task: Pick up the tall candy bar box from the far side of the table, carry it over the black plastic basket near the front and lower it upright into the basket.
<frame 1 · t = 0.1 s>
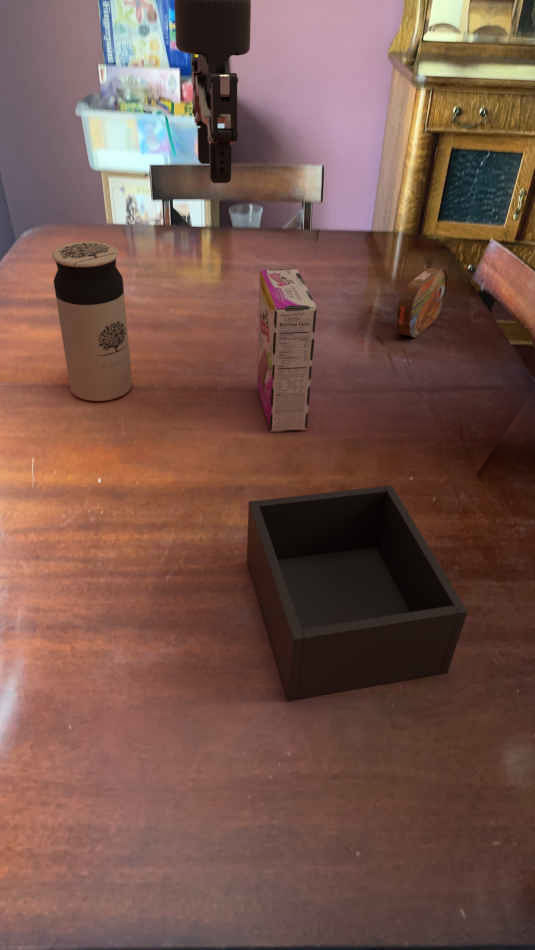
hand: (213, 172, 76), 27 cm above the table, tool pointing down, fingers open, 8 cm apart
tin: (417, 327, 109), on the table
candy bar box: (279, 410, 87), on the table
basket: (339, 613, 60), on the table
travel mug: (101, 388, 89), on the table
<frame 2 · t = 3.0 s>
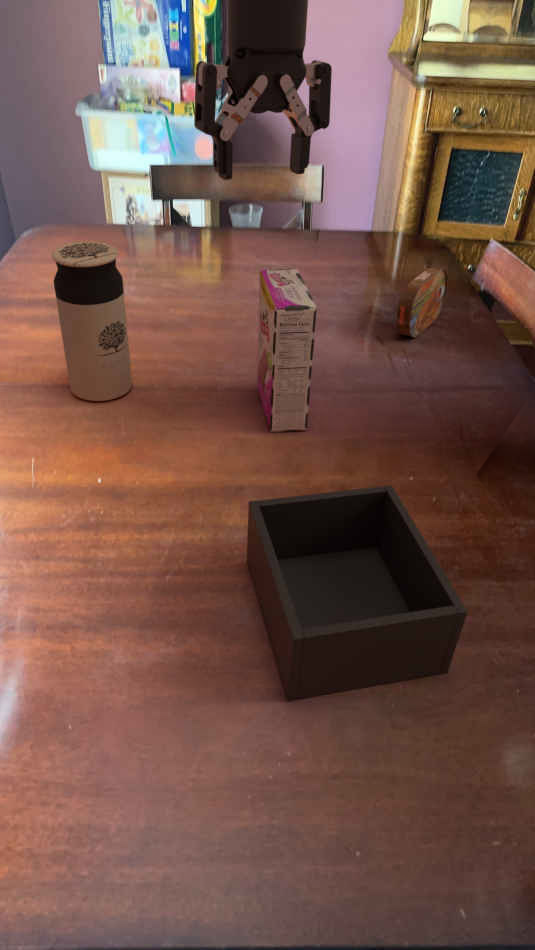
hand: (261, 175, 72), 27 cm above the table, tool pointing down, fingers open, 8 cm apart
nothing on the table moved.
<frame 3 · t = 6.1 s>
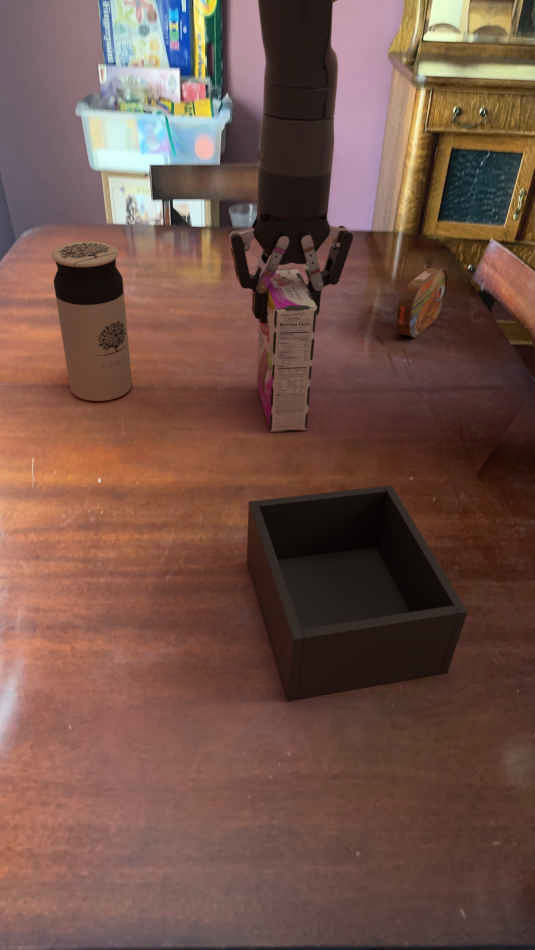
hand: (285, 318, 79), 12 cm above the table, tool pointing down, fingers closed on candy bar box, 5 cm apart
candy bar box: (279, 410, 87), on the table, touching gripper
everything else where it was.
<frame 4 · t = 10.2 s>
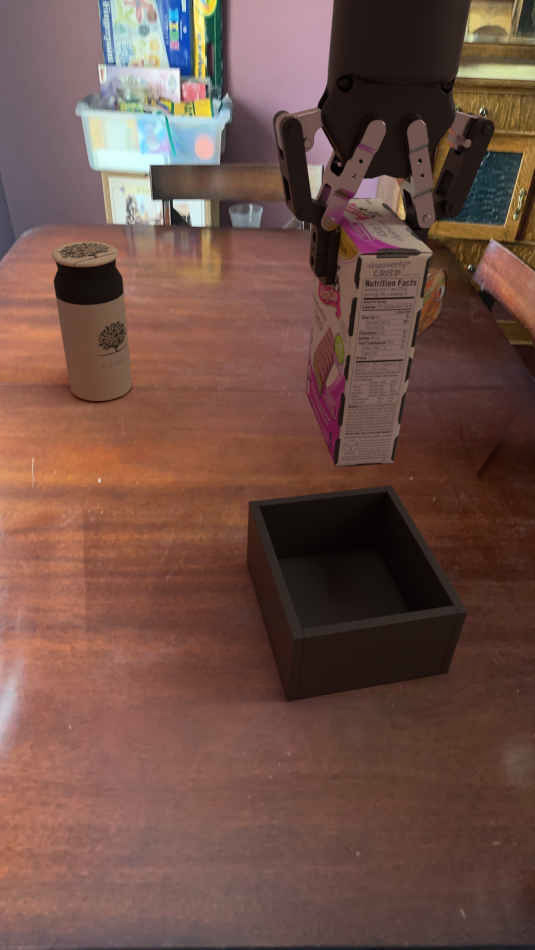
hand: (364, 278, 47), 28 cm above the table, tool pointing down, fingers closed on candy bar box, 5 cm apart
candy bar box: (344, 429, 55), point 16 cm above the table, touching gripper
everything else where it was.
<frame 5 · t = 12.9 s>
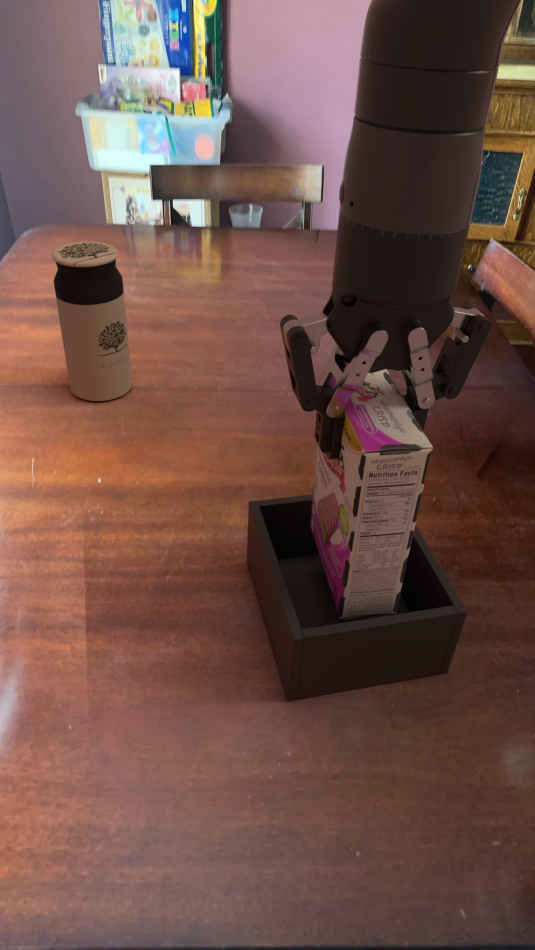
hand: (367, 448, 49), 18 cm above the table, tool pointing down, fingers closed on candy bar box, 5 cm apart
candy bar box: (348, 570, 57), point 5 cm above the table, touching gripper
everything else where it was.
when the fingers open (13 cm above the table, at t = 14.7 s): candy bar box stays where it is, resting on basket.
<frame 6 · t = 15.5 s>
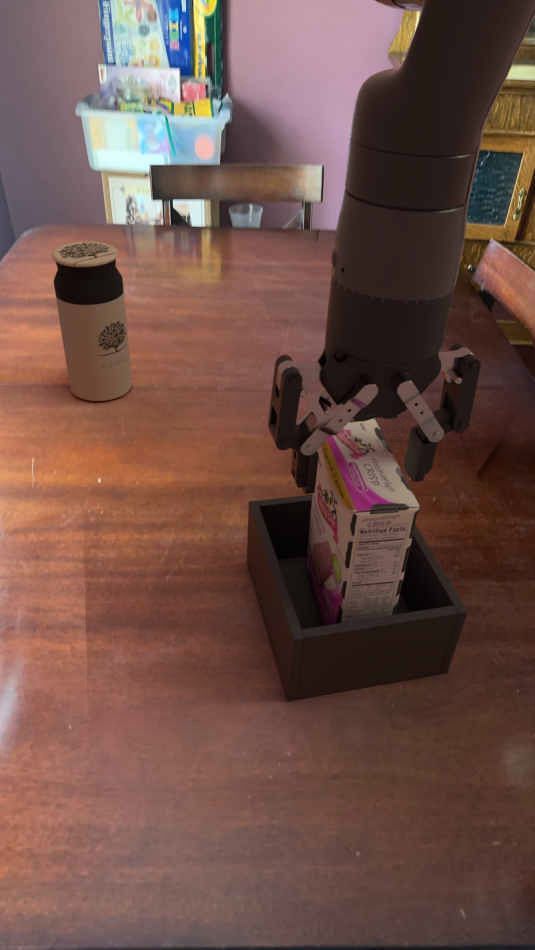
hand: (360, 481, 51), 15 cm above the table, tool pointing down, fingers open, 8 cm apart
candy bar box: (341, 610, 60), resting on basket
everything else where it was.
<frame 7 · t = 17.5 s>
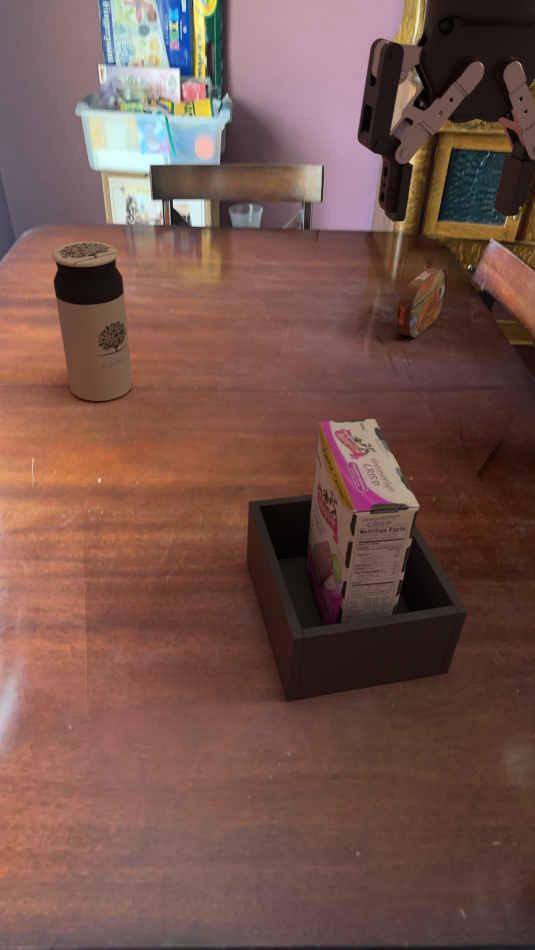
hand: (450, 215, 48), 32 cm above the table, tool pointing down, fingers open, 8 cm apart
nothing on the table moved.
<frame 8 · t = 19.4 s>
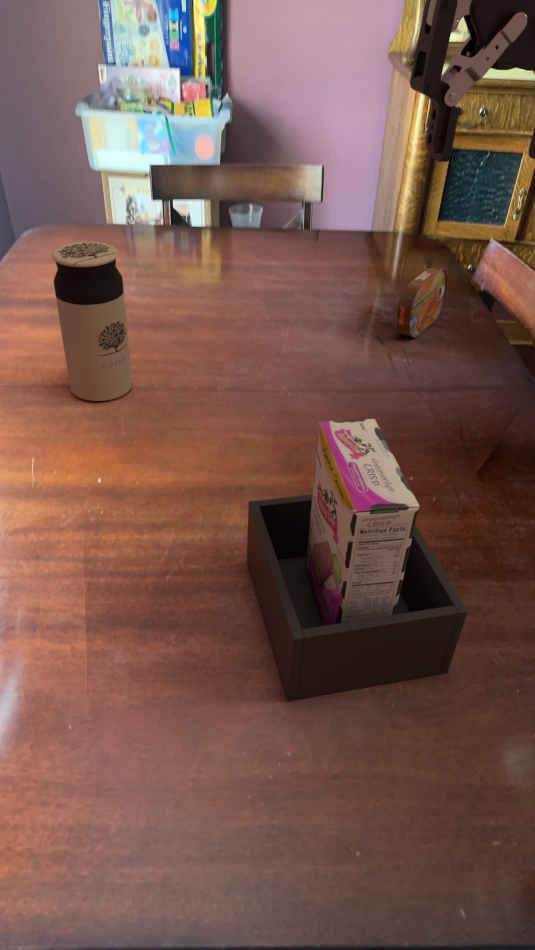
hand: (489, 159, 53), 34 cm above the table, tool pointing down, fingers open, 8 cm apart
nothing on the table moved.
at the end: candy bar box inside the target area in the basket (0.2 cm from its centre), point 0.3 cm above the basket's base; candy bar box tilted 0°; the gripper is holding nothing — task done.
